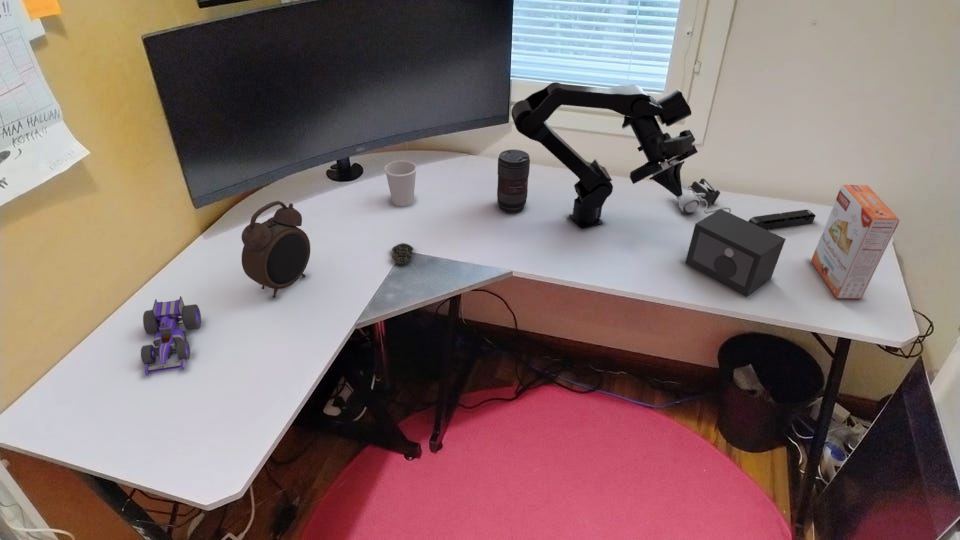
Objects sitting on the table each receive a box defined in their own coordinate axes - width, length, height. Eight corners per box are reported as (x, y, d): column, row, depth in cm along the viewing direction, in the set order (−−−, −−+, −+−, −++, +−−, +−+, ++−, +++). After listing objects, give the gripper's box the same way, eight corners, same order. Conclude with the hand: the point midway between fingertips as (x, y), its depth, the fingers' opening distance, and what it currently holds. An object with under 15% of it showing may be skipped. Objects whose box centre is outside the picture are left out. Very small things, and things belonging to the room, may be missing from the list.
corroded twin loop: (390, 266, 141) (390, 262, 141) (392, 246, 148) (392, 243, 147) (412, 266, 142) (412, 262, 141) (413, 246, 148) (413, 242, 147)
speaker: (683, 264, 144) (693, 224, 137) (709, 247, 149) (720, 208, 143) (745, 297, 134) (760, 256, 127) (770, 279, 140) (785, 238, 133)
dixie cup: (401, 190, 170) (399, 157, 164) (425, 199, 166) (423, 166, 160) (380, 202, 164) (377, 168, 158) (404, 212, 161) (401, 178, 155)
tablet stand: (752, 232, 155) (755, 222, 153) (746, 226, 157) (749, 216, 155) (813, 223, 158) (817, 213, 157) (806, 218, 160) (810, 208, 159)
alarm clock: (272, 308, 129) (252, 228, 117) (248, 296, 132) (226, 217, 120) (320, 273, 139) (307, 196, 127) (297, 262, 142) (282, 186, 130)
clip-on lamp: (732, 234, 159) (700, 188, 171) (744, 216, 155) (710, 170, 166) (693, 237, 156) (663, 189, 167) (703, 218, 151) (672, 171, 163)
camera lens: (532, 204, 164) (536, 153, 155) (517, 218, 159) (520, 165, 150) (506, 196, 168) (508, 145, 159) (490, 209, 162) (492, 157, 153)
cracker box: (808, 261, 145) (840, 183, 133) (834, 262, 145) (869, 183, 132) (833, 299, 134) (871, 217, 121) (861, 300, 134) (902, 218, 121)
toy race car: (137, 377, 113) (125, 351, 110) (153, 324, 125) (142, 299, 121) (192, 369, 115) (183, 343, 111) (202, 317, 127) (194, 292, 123)
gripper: (649, 132, 132) (681, 197, 132) (699, 110, 142) (730, 171, 142) (615, 152, 142) (645, 213, 142) (665, 131, 151) (693, 188, 151)
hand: (680, 196), depth 144 cm, fingers closed
